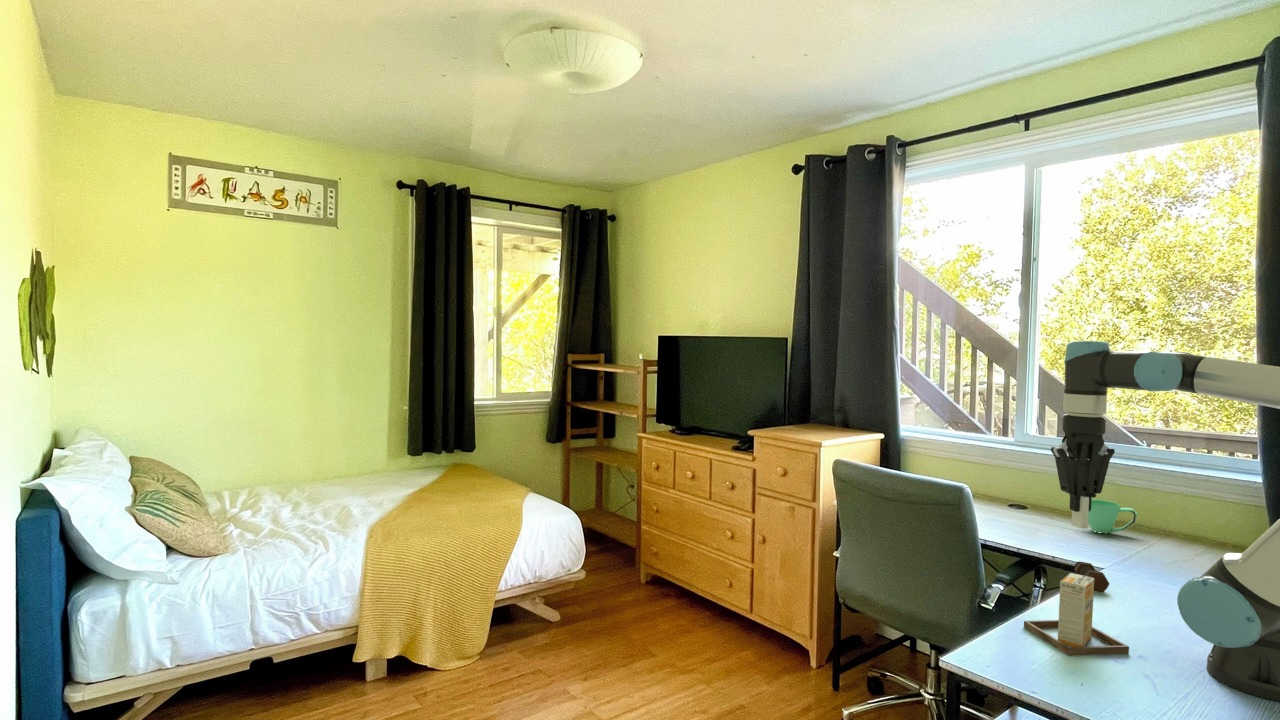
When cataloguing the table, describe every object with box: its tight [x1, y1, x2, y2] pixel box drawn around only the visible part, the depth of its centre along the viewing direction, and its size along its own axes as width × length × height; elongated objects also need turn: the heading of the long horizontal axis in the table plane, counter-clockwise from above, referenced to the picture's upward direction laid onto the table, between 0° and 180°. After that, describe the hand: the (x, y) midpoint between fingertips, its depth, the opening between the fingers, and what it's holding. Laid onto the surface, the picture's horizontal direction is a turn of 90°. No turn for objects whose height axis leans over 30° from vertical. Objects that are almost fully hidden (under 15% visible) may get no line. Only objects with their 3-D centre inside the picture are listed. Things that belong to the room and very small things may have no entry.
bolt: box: [1074, 561, 1110, 593], centre depth 177 cm, size 6×5×15 cm
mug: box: [1088, 498, 1139, 534], centre depth 225 cm, size 15×10×10 cm
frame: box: [1023, 619, 1130, 657], centre depth 141 cm, size 13×13×2 cm
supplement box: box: [1057, 572, 1095, 647], centre depth 141 cm, size 8×5×13 cm, turn 135°
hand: (1079, 526), depth 141 cm, fingers closed
